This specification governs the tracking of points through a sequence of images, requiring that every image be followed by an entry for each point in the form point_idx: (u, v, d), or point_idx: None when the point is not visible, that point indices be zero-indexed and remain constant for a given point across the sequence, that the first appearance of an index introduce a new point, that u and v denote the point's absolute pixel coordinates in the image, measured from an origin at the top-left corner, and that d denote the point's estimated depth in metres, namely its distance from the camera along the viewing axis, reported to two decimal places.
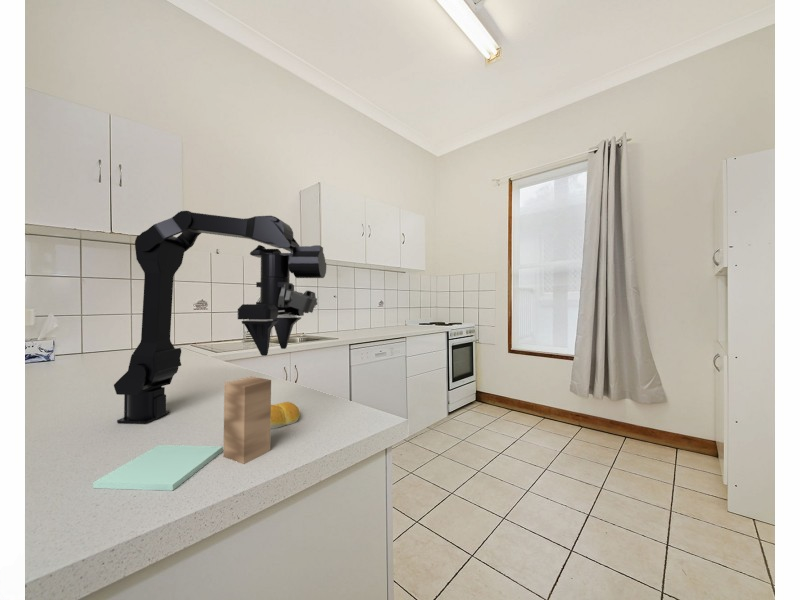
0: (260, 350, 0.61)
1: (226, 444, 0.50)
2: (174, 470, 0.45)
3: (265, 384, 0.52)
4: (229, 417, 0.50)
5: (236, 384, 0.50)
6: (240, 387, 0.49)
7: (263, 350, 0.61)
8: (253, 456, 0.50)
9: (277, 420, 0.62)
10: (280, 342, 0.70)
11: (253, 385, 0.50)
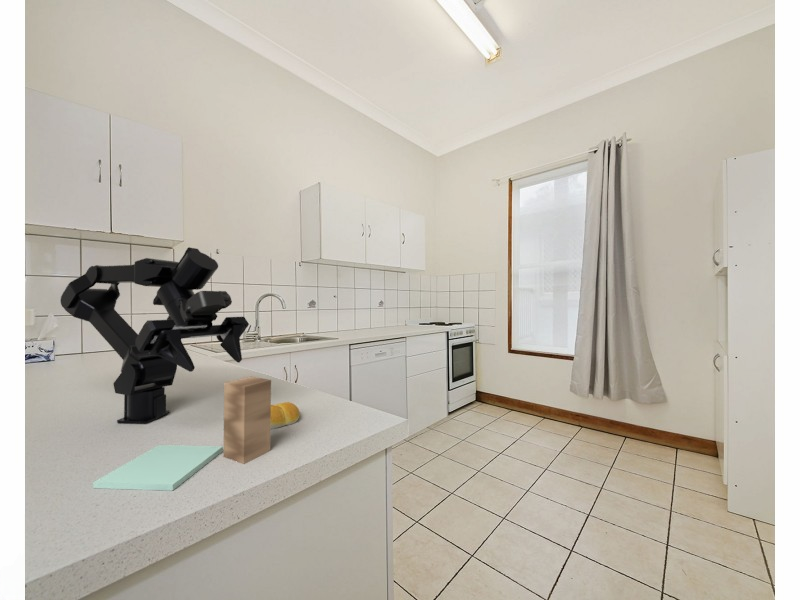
0: (185, 367, 0.54)
1: (226, 444, 0.50)
2: (174, 470, 0.45)
3: (265, 384, 0.52)
4: (229, 417, 0.50)
5: (236, 384, 0.50)
6: (240, 387, 0.49)
7: (187, 365, 0.54)
8: (253, 456, 0.50)
9: (276, 420, 0.62)
10: (234, 358, 0.63)
11: (253, 385, 0.50)
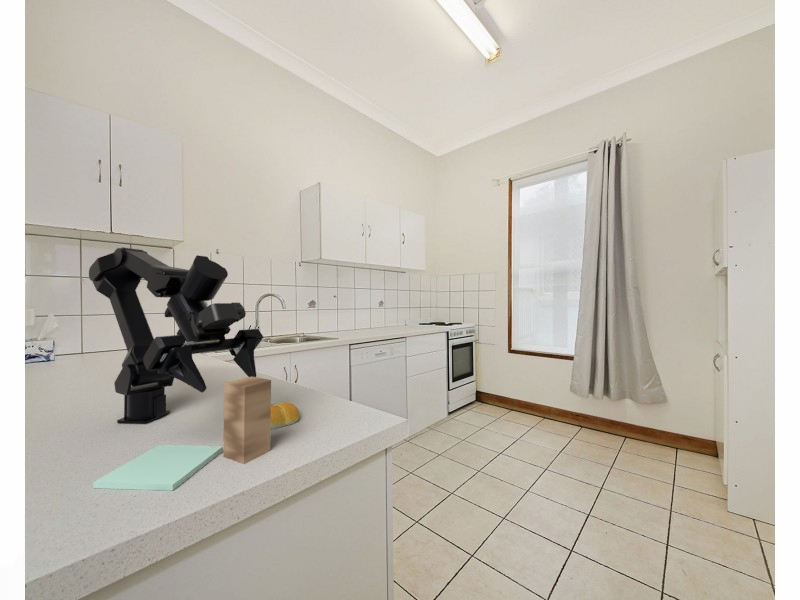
0: (196, 388, 0.50)
1: (226, 444, 0.50)
2: (174, 470, 0.45)
3: (265, 384, 0.52)
4: (229, 417, 0.50)
5: (236, 384, 0.50)
6: (240, 387, 0.49)
7: (199, 385, 0.50)
8: (253, 456, 0.50)
9: (276, 420, 0.62)
10: (248, 374, 0.58)
11: (253, 385, 0.50)
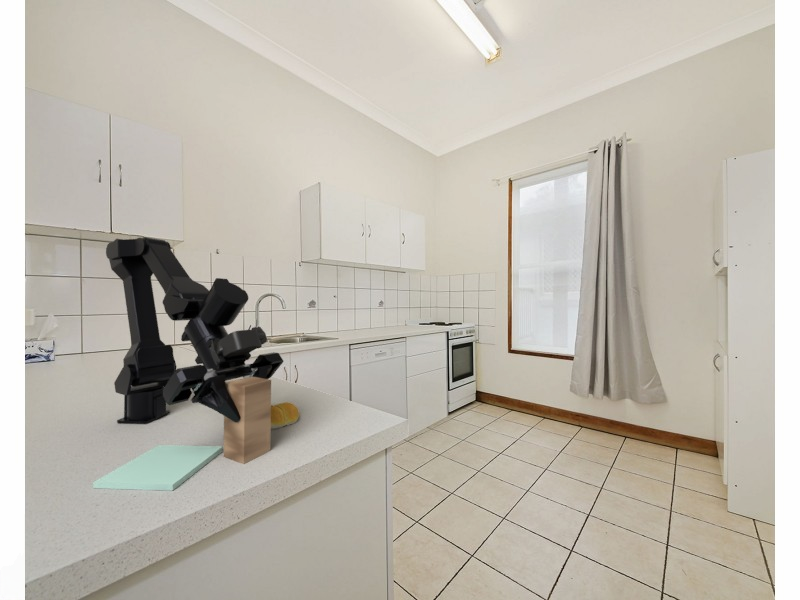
0: (230, 418, 0.49)
1: (226, 444, 0.50)
2: (174, 470, 0.45)
3: (265, 384, 0.52)
4: None
5: (236, 384, 0.50)
6: (240, 387, 0.49)
7: (233, 415, 0.49)
8: (253, 456, 0.50)
9: (276, 420, 0.62)
10: None
11: (253, 385, 0.50)
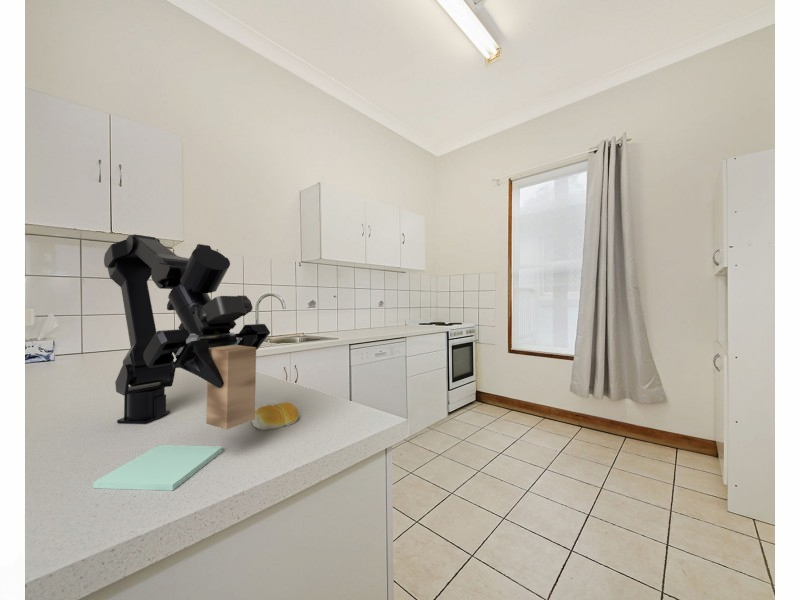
0: (213, 383, 0.48)
1: (209, 411, 0.50)
2: (174, 470, 0.45)
3: (250, 351, 0.51)
4: None
5: (220, 349, 0.49)
6: (224, 352, 0.48)
7: (216, 380, 0.48)
8: (237, 422, 0.49)
9: (276, 420, 0.62)
10: None
11: (237, 351, 0.49)
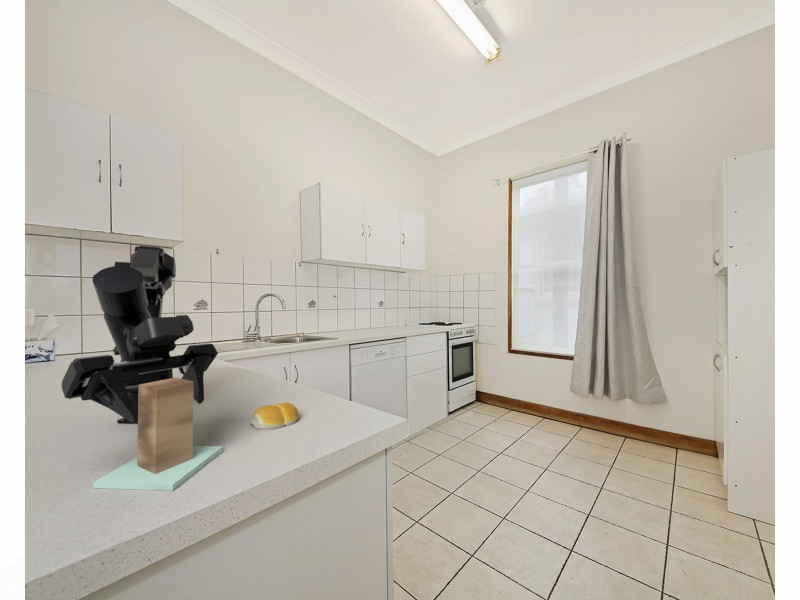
0: (126, 417, 0.43)
1: (140, 452, 0.46)
2: (174, 470, 0.45)
3: (185, 386, 0.47)
4: (143, 423, 0.46)
5: (150, 386, 0.45)
6: (153, 389, 0.44)
7: (128, 414, 0.43)
8: (169, 465, 0.45)
9: (275, 420, 0.62)
10: (195, 397, 0.51)
11: (168, 387, 0.45)
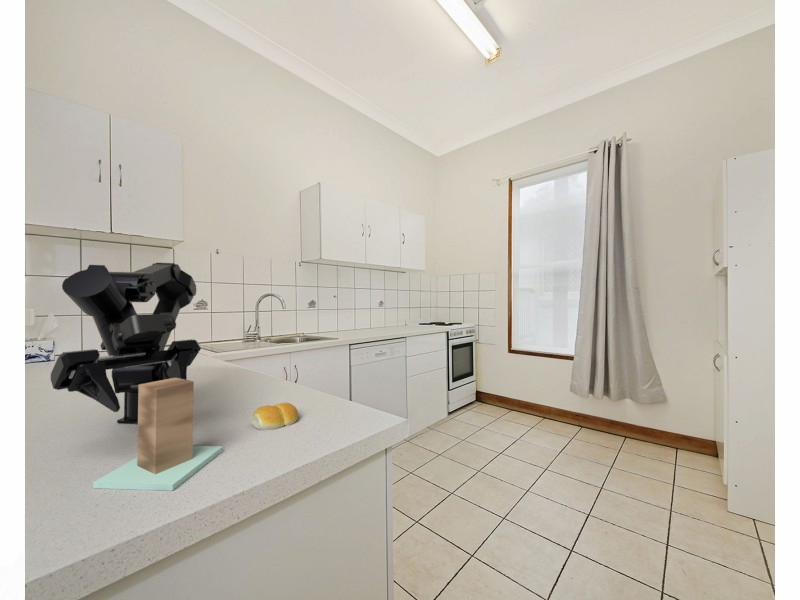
0: (109, 407, 0.46)
1: (140, 452, 0.46)
2: (174, 470, 0.45)
3: (185, 386, 0.47)
4: (143, 423, 0.46)
5: (150, 386, 0.45)
6: (153, 389, 0.44)
7: (112, 404, 0.46)
8: (169, 465, 0.45)
9: (275, 420, 0.62)
10: None
11: (168, 387, 0.45)
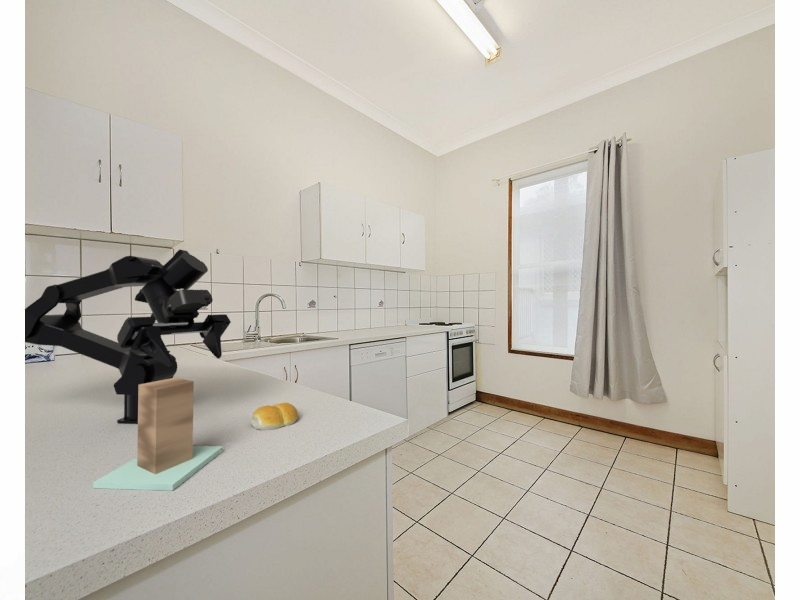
0: (164, 362, 0.57)
1: (140, 452, 0.46)
2: (174, 470, 0.45)
3: (185, 386, 0.47)
4: (143, 423, 0.46)
5: (150, 386, 0.45)
6: (153, 389, 0.44)
7: (166, 360, 0.57)
8: (169, 465, 0.45)
9: (275, 421, 0.62)
10: (214, 354, 0.65)
11: (168, 387, 0.45)
